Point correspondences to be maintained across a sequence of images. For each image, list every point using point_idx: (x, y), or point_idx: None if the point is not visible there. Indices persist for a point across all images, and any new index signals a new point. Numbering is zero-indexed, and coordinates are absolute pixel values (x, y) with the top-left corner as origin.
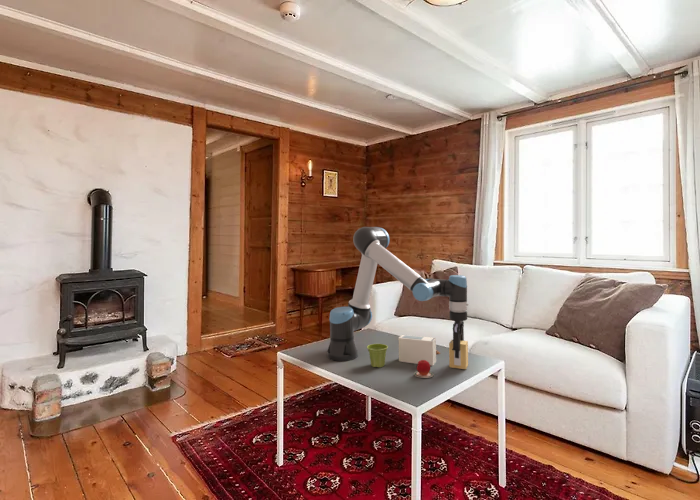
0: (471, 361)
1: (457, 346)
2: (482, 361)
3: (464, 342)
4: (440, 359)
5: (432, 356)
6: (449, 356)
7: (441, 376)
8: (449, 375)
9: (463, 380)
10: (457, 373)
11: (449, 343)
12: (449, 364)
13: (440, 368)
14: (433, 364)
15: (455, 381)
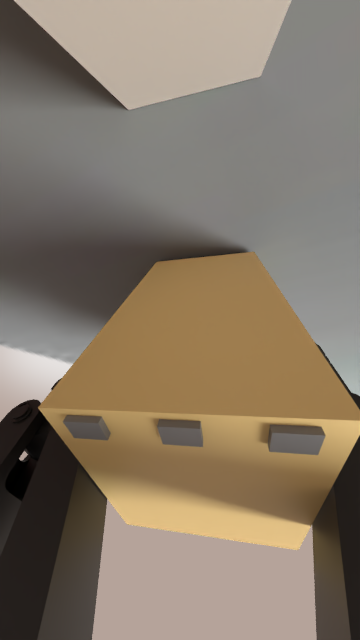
0: (338, 346)
1: (10, 478)
2: (349, 389)
3: (209, 528)
4: (354, 92)
5: (78, 56)
6: (131, 293)
7: (7, 261)
8: (52, 293)
9: (51, 354)
10: (104, 320)
11: (47, 404)
12: (152, 267)
13: (112, 205)
14: (142, 103)
15: (16, 332)
